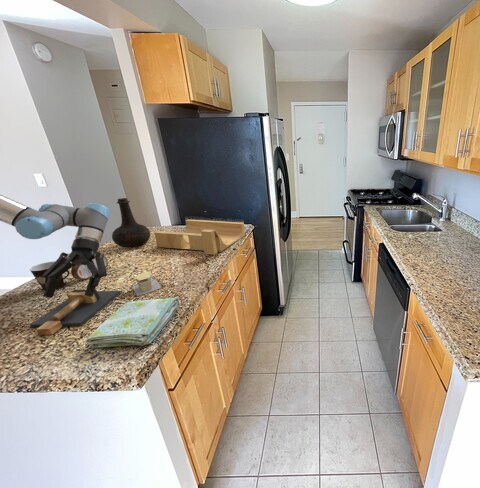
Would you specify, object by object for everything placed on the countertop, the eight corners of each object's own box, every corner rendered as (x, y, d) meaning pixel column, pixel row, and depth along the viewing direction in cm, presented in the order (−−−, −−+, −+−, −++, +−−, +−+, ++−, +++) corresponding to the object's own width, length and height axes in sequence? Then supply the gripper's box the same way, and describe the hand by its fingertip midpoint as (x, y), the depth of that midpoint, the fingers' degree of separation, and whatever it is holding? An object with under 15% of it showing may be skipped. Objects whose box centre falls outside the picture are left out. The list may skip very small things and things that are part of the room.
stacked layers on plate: (162, 287, 110) (159, 276, 107) (137, 296, 104) (133, 284, 102) (155, 279, 116) (152, 268, 114) (131, 286, 110) (128, 275, 108)
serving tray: (30, 327, 86) (29, 324, 86) (79, 294, 105) (78, 291, 104) (81, 325, 87) (80, 322, 87) (121, 293, 106) (120, 290, 105)
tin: (105, 267, 127) (100, 251, 124) (111, 267, 127) (105, 251, 124) (74, 282, 113) (67, 265, 110) (80, 283, 113) (73, 265, 110)
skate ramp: (245, 236, 170) (243, 212, 164) (214, 257, 137) (210, 228, 132) (190, 232, 176) (186, 209, 171) (148, 252, 144) (142, 224, 138)
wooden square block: (38, 335, 83) (35, 329, 82) (50, 326, 87) (47, 321, 86) (52, 334, 83) (49, 328, 82) (63, 326, 87) (60, 320, 86)
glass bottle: (108, 249, 148) (91, 200, 137) (137, 238, 164) (124, 194, 153) (132, 253, 143) (116, 203, 132) (159, 241, 159) (148, 196, 148)
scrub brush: (78, 298, 100) (45, 324, 87) (73, 289, 98) (39, 315, 85) (100, 297, 100) (70, 323, 88) (96, 289, 98) (65, 314, 86)
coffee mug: (35, 290, 108) (24, 268, 104) (60, 280, 115) (51, 260, 111) (51, 295, 104) (41, 273, 100) (77, 285, 111) (68, 264, 108)
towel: (85, 351, 77) (79, 337, 75) (131, 308, 96) (127, 296, 94) (149, 348, 77) (144, 335, 76) (181, 306, 97) (178, 294, 95)
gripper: (127, 244, 104) (112, 297, 95) (61, 245, 102) (40, 299, 94) (114, 236, 97) (97, 293, 89) (43, 238, 95) (19, 295, 87)
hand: (68, 296), depth 91 cm, fingers open, 13 cm apart
